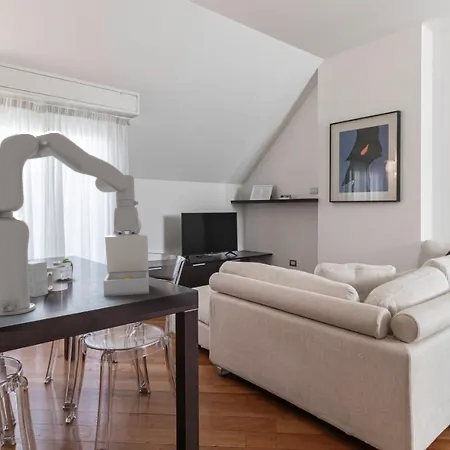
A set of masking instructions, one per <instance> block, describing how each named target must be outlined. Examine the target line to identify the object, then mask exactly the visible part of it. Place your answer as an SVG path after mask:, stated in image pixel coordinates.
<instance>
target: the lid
mask: <svg viewBox="0 0 450 450" xmlns="http://www.w3.org/2000/svg"><path fill="white" fill-rule="evenodd" d="M104 241H105V242H104V243H105V253H106V265H107V266H106V267H107V269H106V270H107V274H108V273H126V272H146V271H148V272H149V247H148V245H149V244H148V243H149V242H148V234H140V233H137V234H129V233H125V234H113V235H105V236H104Z"/></svg>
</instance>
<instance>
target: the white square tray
mask: <svg viewBox="0 0 450 450" xmlns="http://www.w3.org/2000/svg"><path fill="white" fill-rule="evenodd" d="M127 276H130V277H132V279H124V278H125V277H127ZM149 279H150V278H149V270H148V271H146V272H126V273H108V272H107V274H106V276H105V278H104V279H103V296H104V297H113V296H115V297H117V296H131V295H132V296H133V295H134V294H135V295H149V294H150V280H149ZM135 295H134V296H135Z"/></svg>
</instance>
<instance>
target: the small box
mask: <svg viewBox="0 0 450 450" xmlns="http://www.w3.org/2000/svg"><path fill="white" fill-rule="evenodd" d="M47 263H48V262H47V261H36V260H32V261H31V260H30V261H28V270H29V292H30V298H38V297H41V296H45V295H48V294H49V284H48V265H47Z"/></svg>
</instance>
